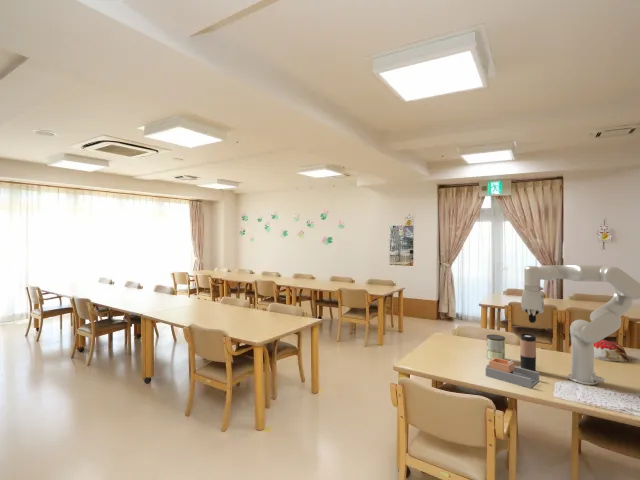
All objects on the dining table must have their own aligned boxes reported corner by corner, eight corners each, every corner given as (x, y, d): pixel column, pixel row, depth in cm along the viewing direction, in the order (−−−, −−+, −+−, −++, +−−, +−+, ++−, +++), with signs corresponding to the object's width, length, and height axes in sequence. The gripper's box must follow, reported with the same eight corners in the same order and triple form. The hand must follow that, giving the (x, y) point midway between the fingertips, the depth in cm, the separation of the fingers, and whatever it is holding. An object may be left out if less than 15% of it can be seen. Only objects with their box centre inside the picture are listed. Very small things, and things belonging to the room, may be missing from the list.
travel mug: (517, 369, 202) (517, 334, 202) (526, 367, 204) (526, 333, 204) (529, 374, 195) (529, 337, 195) (539, 372, 197) (539, 336, 197)
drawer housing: (539, 381, 185) (539, 370, 185) (530, 388, 176) (530, 377, 176) (495, 369, 201) (495, 359, 201) (485, 375, 192) (485, 365, 192)
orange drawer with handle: (514, 373, 190) (514, 359, 190) (509, 378, 185) (509, 362, 185) (495, 368, 198) (495, 354, 198) (489, 372, 192) (489, 358, 192)
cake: (636, 365, 207) (636, 348, 207) (584, 358, 220) (584, 342, 220) (627, 354, 227) (627, 339, 227) (580, 348, 240) (580, 333, 240)
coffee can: (484, 356, 224) (484, 334, 224) (501, 356, 223) (501, 334, 223) (490, 361, 214) (490, 338, 214) (508, 362, 213) (508, 339, 213)
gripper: (550, 289, 189) (550, 323, 189) (519, 286, 200) (519, 319, 201) (545, 291, 184) (545, 326, 184) (514, 288, 195) (515, 321, 195)
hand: (532, 322), depth 192 cm, fingers closed
